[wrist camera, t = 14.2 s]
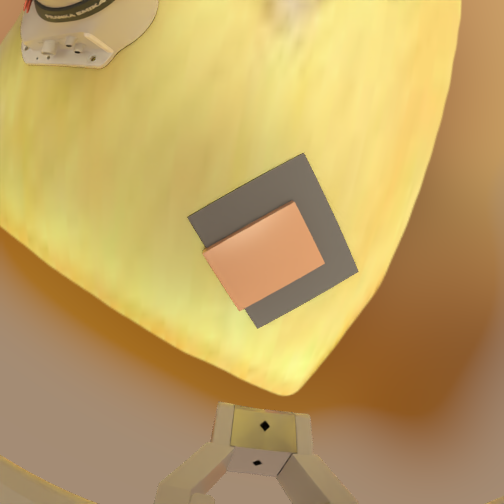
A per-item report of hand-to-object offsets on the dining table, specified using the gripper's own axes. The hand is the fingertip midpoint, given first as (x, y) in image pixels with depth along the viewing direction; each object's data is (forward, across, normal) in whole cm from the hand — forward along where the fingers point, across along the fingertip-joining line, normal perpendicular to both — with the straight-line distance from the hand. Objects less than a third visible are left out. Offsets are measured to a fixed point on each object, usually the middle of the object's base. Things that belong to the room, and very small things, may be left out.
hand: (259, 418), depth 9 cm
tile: (+32, -3, -14) cm, 35 cm away
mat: (+36, +4, -8) cm, 37 cm away
